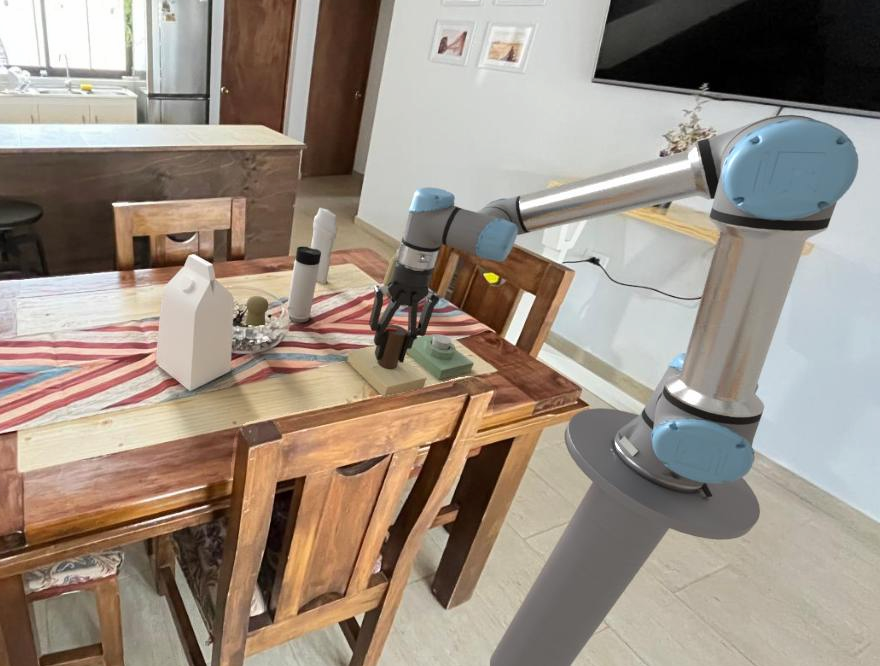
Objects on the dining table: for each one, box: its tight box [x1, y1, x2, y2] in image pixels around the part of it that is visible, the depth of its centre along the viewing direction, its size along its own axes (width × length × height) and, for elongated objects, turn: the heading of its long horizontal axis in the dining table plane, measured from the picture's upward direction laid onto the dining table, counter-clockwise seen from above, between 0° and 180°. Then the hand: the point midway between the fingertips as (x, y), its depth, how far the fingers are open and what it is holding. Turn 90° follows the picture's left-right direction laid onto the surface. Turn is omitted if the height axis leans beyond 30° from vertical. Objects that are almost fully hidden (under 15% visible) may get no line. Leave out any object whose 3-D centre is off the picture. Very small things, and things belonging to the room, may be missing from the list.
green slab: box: [406, 333, 475, 380], centre depth 124 cm, size 13×10×4 cm
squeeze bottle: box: [383, 248, 399, 298], centre depth 151 cm, size 8×8×18 cm
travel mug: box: [286, 246, 321, 323], centre depth 133 cm, size 6×7×20 cm
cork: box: [244, 295, 269, 326], centre depth 124 cm, size 6×6×11 cm
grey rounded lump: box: [432, 333, 452, 350], centre depth 123 cm, size 4×4×2 cm
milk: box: [155, 253, 235, 392], centre depth 107 cm, size 12×12×26 cm
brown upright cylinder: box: [377, 324, 408, 369], centre depth 114 cm, size 4×4×9 cm
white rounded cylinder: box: [310, 207, 338, 285], centre depth 155 cm, size 11×4×22 cm, turn 29°
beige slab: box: [346, 345, 427, 397], centre depth 117 cm, size 14×11×3 cm
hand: (388, 357), depth 116 cm, fingers closed on brown upright cylinder, 4 cm apart
